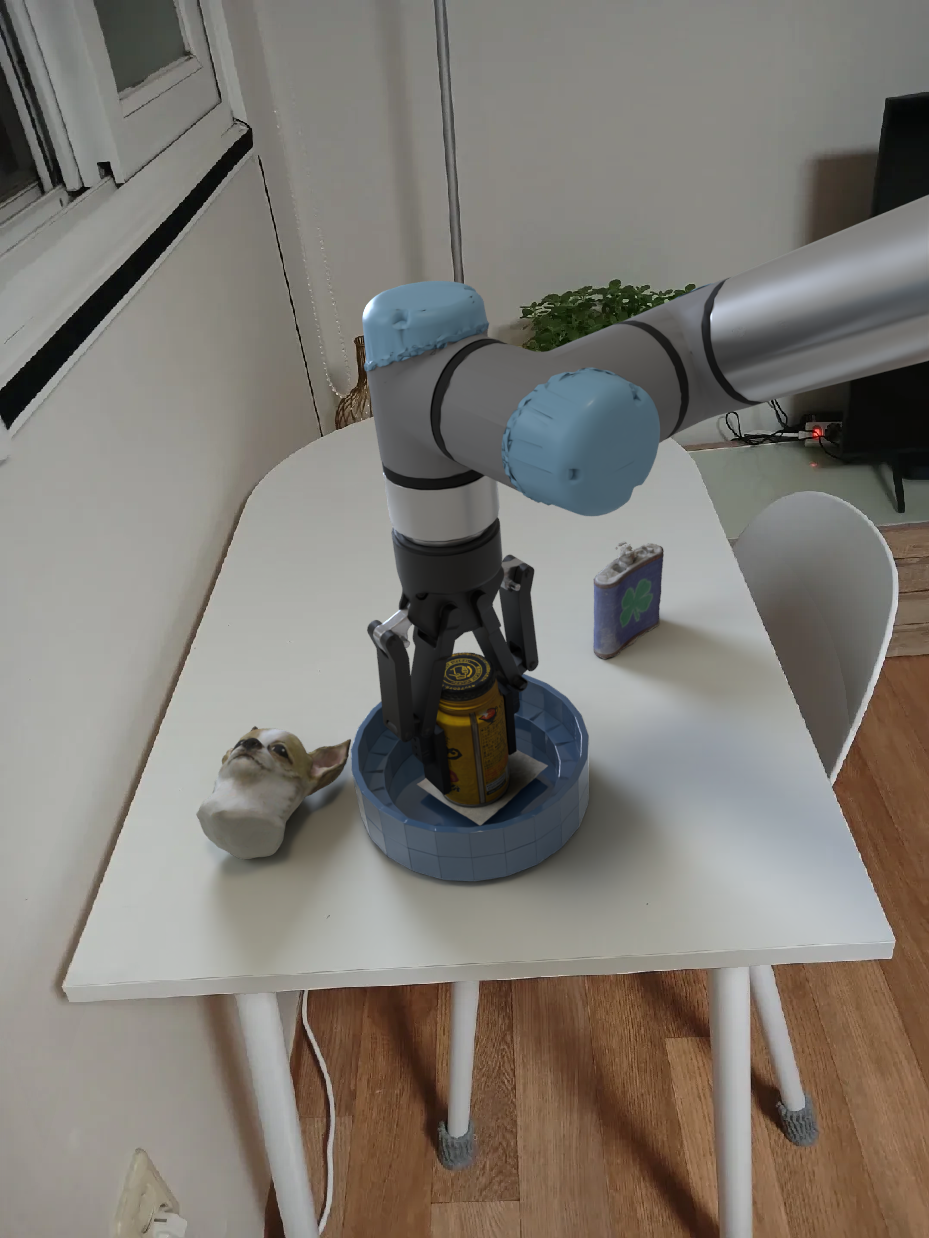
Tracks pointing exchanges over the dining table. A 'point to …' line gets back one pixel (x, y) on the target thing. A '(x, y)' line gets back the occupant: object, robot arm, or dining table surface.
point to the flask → (627, 598)
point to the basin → (452, 841)
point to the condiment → (478, 741)
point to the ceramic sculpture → (265, 789)
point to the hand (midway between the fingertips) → (471, 763)
